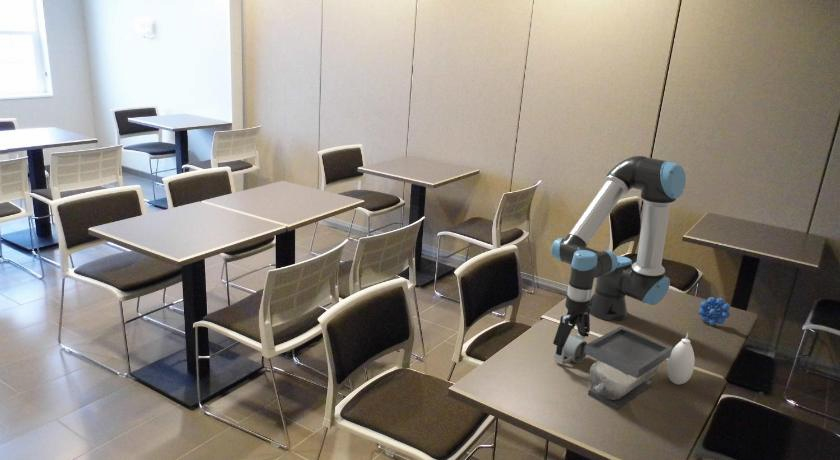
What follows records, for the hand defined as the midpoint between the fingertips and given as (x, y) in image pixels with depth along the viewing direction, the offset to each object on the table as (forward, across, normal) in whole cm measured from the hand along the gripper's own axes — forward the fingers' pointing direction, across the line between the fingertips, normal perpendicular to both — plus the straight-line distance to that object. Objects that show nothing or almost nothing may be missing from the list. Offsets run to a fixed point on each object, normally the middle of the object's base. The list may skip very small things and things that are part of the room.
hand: (568, 357), depth 203 cm
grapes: (0, -70, +19) cm, 73 cm away
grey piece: (+1, +3, +21) cm, 21 cm away
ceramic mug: (+1, 0, 0) cm, 1 cm away
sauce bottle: (+1, -16, +30) cm, 34 cm away
